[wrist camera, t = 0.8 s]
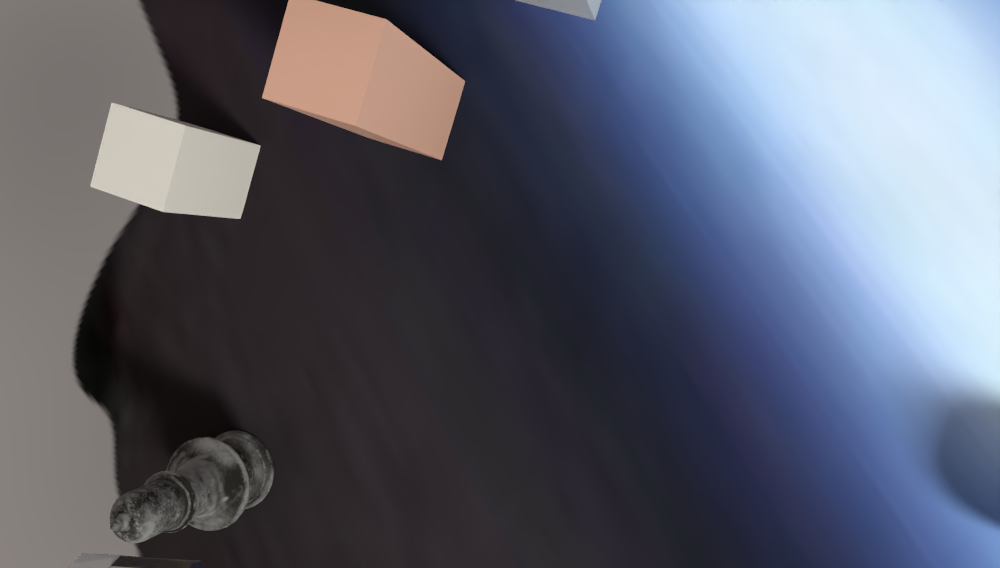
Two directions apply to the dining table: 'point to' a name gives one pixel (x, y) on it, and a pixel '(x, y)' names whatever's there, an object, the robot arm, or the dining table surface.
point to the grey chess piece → (197, 488)
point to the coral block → (363, 77)
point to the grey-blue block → (570, 6)
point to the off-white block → (173, 164)
